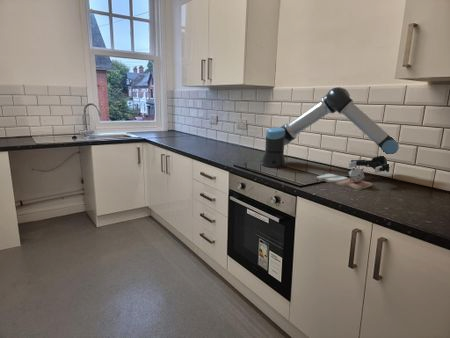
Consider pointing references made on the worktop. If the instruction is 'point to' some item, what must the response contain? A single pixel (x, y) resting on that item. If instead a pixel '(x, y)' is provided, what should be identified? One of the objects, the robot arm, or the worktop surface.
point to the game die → (356, 174)
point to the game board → (343, 181)
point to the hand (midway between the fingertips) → (362, 167)
